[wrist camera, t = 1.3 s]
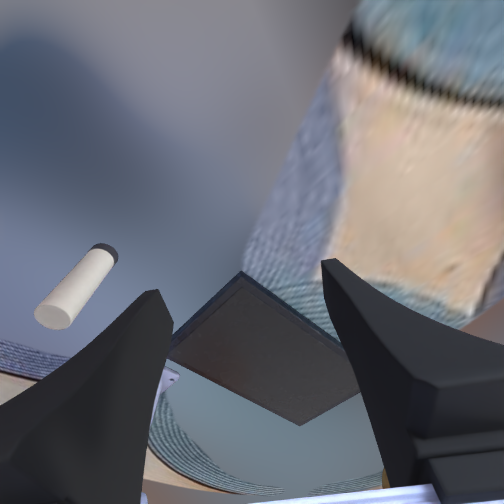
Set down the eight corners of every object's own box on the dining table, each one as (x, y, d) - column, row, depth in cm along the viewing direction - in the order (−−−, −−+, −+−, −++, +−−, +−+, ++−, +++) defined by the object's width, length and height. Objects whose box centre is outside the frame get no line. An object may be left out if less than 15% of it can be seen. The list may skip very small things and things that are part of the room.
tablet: (298, 418, 35) (300, 427, 34) (160, 345, 27) (157, 354, 26) (380, 371, 30) (384, 380, 29) (241, 269, 23) (240, 277, 22)
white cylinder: (110, 269, 23) (62, 335, 17) (86, 255, 22) (27, 319, 16) (123, 253, 22) (77, 316, 16) (98, 238, 21) (41, 298, 15)
